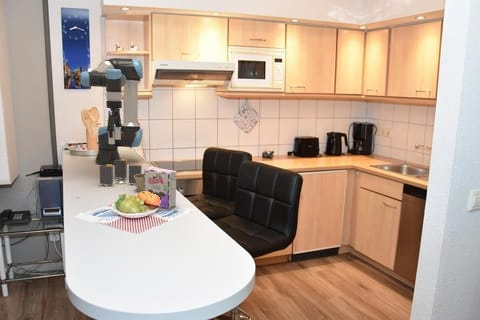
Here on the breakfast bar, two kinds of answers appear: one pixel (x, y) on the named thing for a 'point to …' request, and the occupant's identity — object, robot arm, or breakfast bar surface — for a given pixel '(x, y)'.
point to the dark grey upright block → (106, 175)
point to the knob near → (120, 168)
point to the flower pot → (139, 182)
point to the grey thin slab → (134, 172)
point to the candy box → (161, 185)
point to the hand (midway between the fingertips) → (114, 141)
